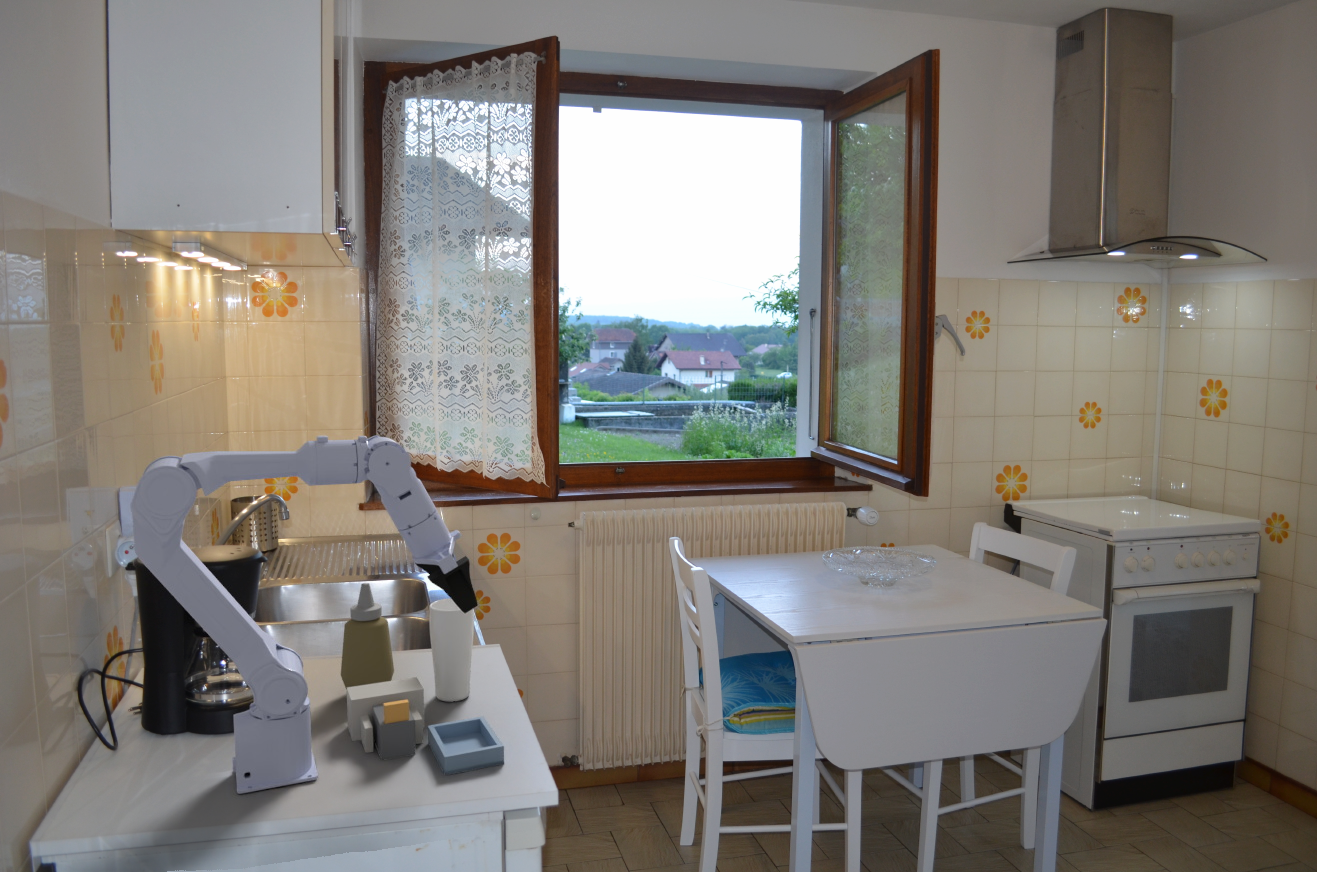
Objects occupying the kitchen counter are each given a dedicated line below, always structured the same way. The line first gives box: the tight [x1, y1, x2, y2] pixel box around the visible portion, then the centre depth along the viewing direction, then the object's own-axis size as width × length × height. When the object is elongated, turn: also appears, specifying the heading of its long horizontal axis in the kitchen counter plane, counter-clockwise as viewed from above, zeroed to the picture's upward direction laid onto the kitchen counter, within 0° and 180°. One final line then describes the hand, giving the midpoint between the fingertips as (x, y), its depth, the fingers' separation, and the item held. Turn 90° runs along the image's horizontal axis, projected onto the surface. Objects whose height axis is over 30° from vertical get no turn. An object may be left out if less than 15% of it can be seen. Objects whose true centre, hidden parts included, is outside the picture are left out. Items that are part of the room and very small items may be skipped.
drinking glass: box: [428, 597, 475, 703], centre depth 146 cm, size 7×7×15 cm
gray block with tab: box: [372, 699, 416, 762], centre depth 129 cm, size 7×4×8 cm, turn 26°
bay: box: [346, 676, 425, 754], centre depth 133 cm, size 10×10×6 cm
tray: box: [427, 715, 505, 776], centre depth 127 cm, size 8×10×2 cm
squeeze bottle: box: [340, 582, 395, 691], centre depth 146 cm, size 8×8×18 cm
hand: (463, 601), depth 129 cm, fingers open, 7 cm apart
